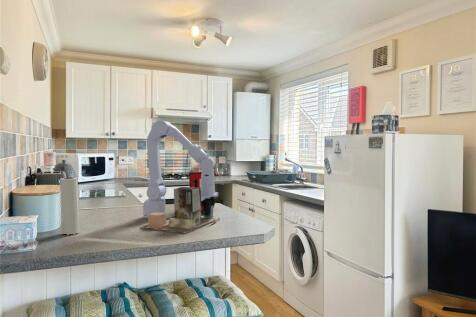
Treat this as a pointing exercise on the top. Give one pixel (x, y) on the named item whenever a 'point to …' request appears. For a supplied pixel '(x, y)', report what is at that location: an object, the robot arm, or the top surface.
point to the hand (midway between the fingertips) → (208, 215)
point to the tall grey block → (69, 205)
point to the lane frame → (175, 231)
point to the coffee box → (188, 204)
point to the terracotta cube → (156, 220)
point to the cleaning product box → (196, 181)
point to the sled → (189, 221)
